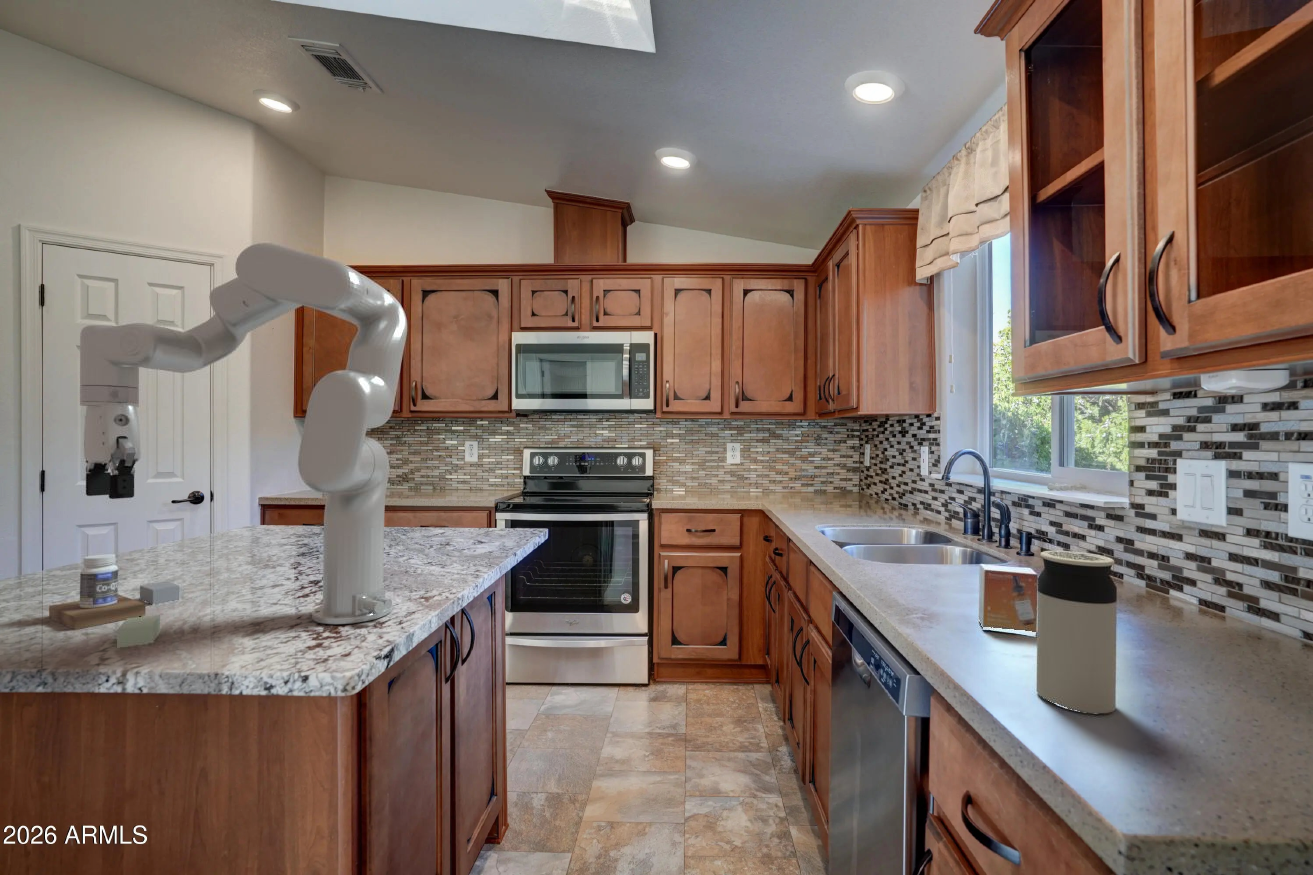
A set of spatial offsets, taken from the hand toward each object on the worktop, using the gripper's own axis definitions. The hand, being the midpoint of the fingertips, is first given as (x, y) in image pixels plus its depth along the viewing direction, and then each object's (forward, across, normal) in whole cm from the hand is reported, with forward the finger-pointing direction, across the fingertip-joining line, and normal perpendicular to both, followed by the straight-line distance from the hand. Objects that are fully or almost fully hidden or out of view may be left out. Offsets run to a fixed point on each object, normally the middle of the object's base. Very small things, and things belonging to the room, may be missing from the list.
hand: (109, 496), depth 102 cm
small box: (+22, -135, -75) cm, 156 cm away
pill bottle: (+19, 0, +1) cm, 19 cm away
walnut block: (+20, +1, +1) cm, 21 cm away
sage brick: (+21, -19, +3) cm, 29 cm away
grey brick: (+21, +4, -9) cm, 23 cm away
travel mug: (+22, -142, -47) cm, 151 cm away
